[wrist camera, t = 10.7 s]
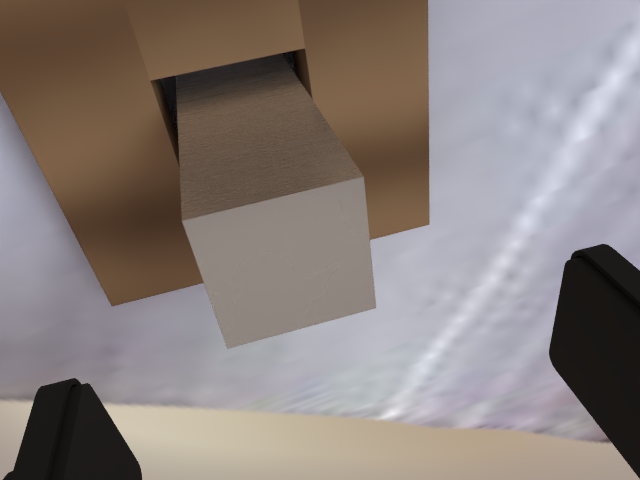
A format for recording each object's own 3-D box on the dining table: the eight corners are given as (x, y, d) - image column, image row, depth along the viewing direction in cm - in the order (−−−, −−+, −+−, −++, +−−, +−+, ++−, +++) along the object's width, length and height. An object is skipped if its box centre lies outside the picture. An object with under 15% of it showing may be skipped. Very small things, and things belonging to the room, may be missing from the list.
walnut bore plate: (404, 191, 25) (429, 224, 23) (117, 263, 24) (111, 306, 21) (378, -460, 13) (424, -534, 11) (-201, -406, 12) (-295, -479, 9)
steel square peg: (294, 140, 22) (375, 308, 14) (203, 162, 22) (227, 348, 13) (277, 47, 20) (363, 176, 11) (175, 68, 20) (181, 220, 11)
